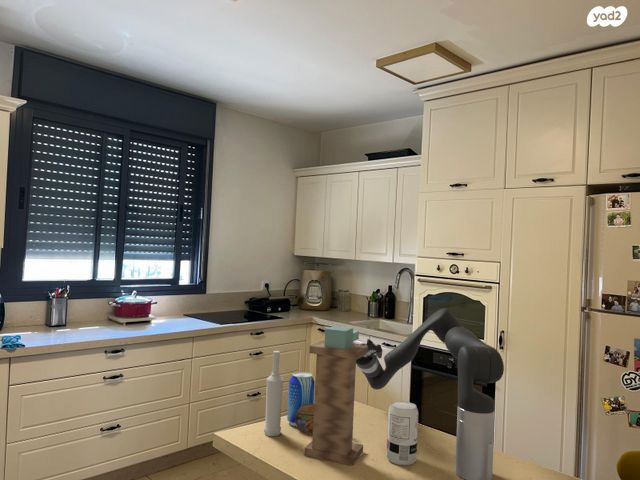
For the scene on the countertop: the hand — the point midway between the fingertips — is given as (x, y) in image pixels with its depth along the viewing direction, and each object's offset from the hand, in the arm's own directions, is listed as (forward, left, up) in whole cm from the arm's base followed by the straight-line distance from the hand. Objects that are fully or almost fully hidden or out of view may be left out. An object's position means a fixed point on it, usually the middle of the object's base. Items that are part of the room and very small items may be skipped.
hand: (355, 340), depth 146 cm
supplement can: (-18, +10, -30) cm, 36 cm away
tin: (+10, +2, -30) cm, 31 cm away
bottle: (+22, +10, -30) cm, 38 cm away
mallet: (0, +10, +1) cm, 10 cm away
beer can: (+18, -2, -30) cm, 35 cm away
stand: (0, +15, -29) cm, 33 cm away
